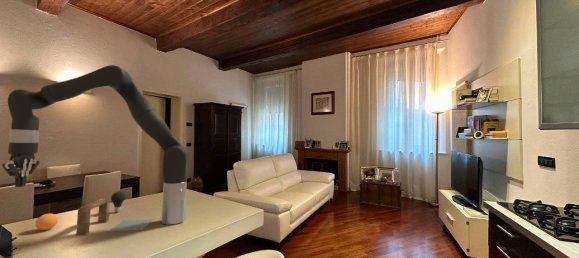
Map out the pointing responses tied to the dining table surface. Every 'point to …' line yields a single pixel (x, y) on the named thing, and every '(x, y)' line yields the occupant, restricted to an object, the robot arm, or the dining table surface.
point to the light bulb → (118, 200)
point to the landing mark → (131, 225)
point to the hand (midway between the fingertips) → (20, 186)
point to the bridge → (84, 215)
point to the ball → (46, 221)
